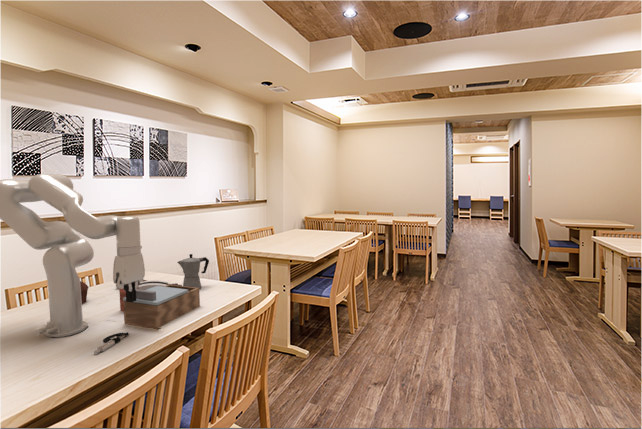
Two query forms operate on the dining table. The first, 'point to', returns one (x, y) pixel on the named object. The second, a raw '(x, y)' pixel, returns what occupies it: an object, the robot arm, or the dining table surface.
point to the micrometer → (110, 342)
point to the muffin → (83, 291)
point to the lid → (157, 295)
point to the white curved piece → (151, 284)
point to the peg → (122, 295)
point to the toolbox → (161, 309)
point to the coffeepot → (192, 270)
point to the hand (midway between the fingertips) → (131, 300)
